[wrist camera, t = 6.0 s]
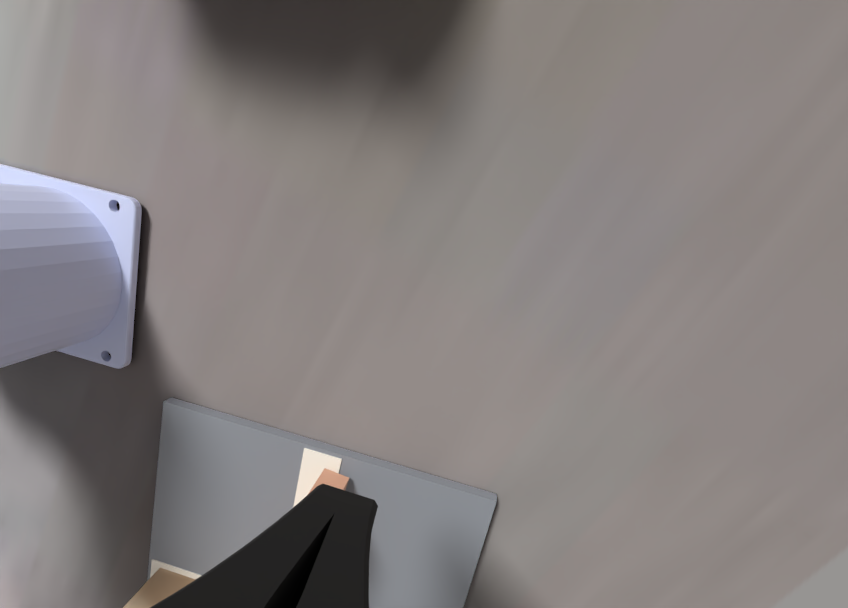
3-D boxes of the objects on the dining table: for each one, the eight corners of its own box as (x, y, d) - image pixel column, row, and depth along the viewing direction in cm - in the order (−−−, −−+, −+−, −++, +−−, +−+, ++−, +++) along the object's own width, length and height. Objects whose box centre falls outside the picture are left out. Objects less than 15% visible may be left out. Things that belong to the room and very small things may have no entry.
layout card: (149, 621, 24) (141, 631, 23) (171, 397, 21) (162, 402, 20) (425, 718, 22) (424, 731, 22) (496, 493, 19) (496, 502, 19)
